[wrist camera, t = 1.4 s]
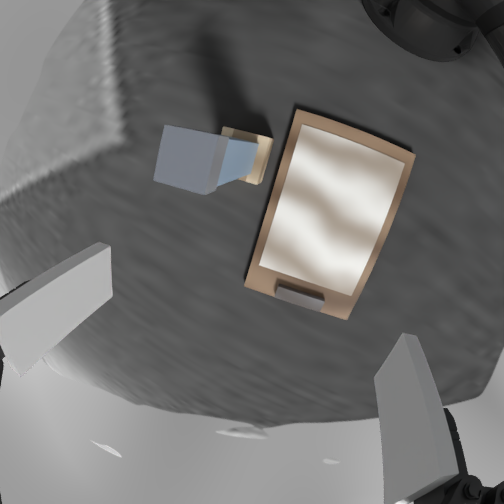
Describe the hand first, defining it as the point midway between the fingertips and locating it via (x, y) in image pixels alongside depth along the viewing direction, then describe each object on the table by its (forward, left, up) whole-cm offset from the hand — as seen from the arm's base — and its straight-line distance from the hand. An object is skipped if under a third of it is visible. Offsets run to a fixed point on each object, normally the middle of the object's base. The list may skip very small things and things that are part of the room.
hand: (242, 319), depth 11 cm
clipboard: (0, +5, -22) cm, 22 cm away
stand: (-5, -6, -22) cm, 23 cm away
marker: (-5, -6, -20) cm, 22 cm away
